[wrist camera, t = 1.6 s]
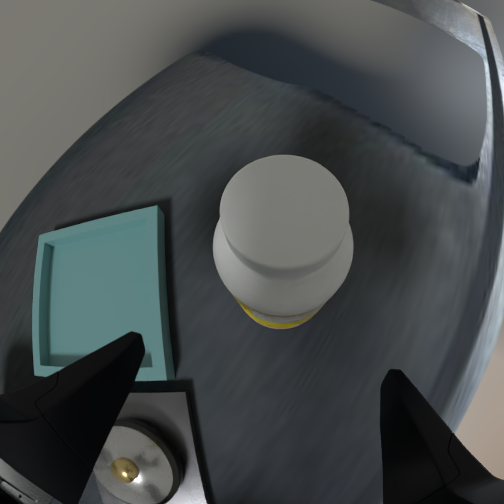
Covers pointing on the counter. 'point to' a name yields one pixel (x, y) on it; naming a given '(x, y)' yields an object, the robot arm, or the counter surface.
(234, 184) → the supplement bottle
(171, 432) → the block
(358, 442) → the counter surface
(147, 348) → the tray
